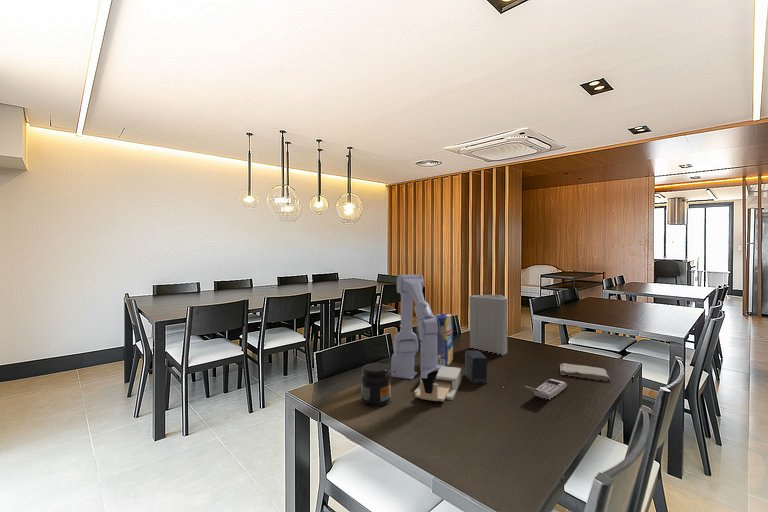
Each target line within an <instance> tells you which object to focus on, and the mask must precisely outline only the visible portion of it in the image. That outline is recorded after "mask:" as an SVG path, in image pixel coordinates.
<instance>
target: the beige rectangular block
mask: <svg viewBox="0 0 768 512" xmlns="http://www.w3.org/2000/svg"><path fill="white" fill-rule="evenodd" d="M419 385H420V389H419V391H418V392H417V393H416V395H414V397H415V398H418V399H421V400H427V401H433V402H438V401H439V402H445V400H446V399H445V398H446V396H447V394H448V392H449V390H450V388H451V386H452V383H451V382H443V381H435V383H433V390H432V393H431V394H429V393H425V389H424V385H423V382H420V381H419Z"/></svg>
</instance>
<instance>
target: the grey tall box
mask: <svg viewBox="0 0 768 512" xmlns="http://www.w3.org/2000/svg"><path fill="white" fill-rule="evenodd" d="M470 348H474V349H479V350H483V351H482V352H484V351H488V352H487V353H489V352H493V353H492V354H494V353H497V354H496V355H499V354H501V355H500V356H505V355H507V354H508V298H507V297H505V296H504V295H501V294H478V295H475V294H474V295H470V296H469V349H470ZM474 349H473V350H474ZM479 350H478V351H479ZM506 353H507V354H506ZM504 354H505V355H504Z"/></svg>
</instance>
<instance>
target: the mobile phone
mask: <svg viewBox="0 0 768 512" xmlns="http://www.w3.org/2000/svg"><path fill="white" fill-rule="evenodd" d="M524 387H525V388H526V389H528V390H530V391H532V392H534V395H535V397H537V396H538V397H539V398H541V399H544V398H545V399H544V400H547V399H549V400H548V401H551V400H552V399H553V398H554V396H555V397H556V396H557V395H559V394H560V393H562V392H563V391H564V390H565V389H566V387H568V383H566V382H565V381H562V380H557V379H553V378H550V379H548V380H546V381H544V382H543V383H542V384H541V385H539V386H538V387H536V388H534V387H531V386H527V385H525V386H524ZM561 391H562V392H561ZM551 398H552V399H551Z"/></svg>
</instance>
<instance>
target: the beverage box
mask: <svg viewBox="0 0 768 512" xmlns="http://www.w3.org/2000/svg"><path fill="white" fill-rule="evenodd" d="M453 315H454V314H450V313H449V314H448V313H437V314H434V316H436V317H437V318H438V320H439V323H440V332H439V334H437V365H438V366H446V367H449V365H450V364H451V363H452V362H453V361H454V353H453V352H454V319H453V318H454V316H453ZM452 360H453V361H452Z"/></svg>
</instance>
